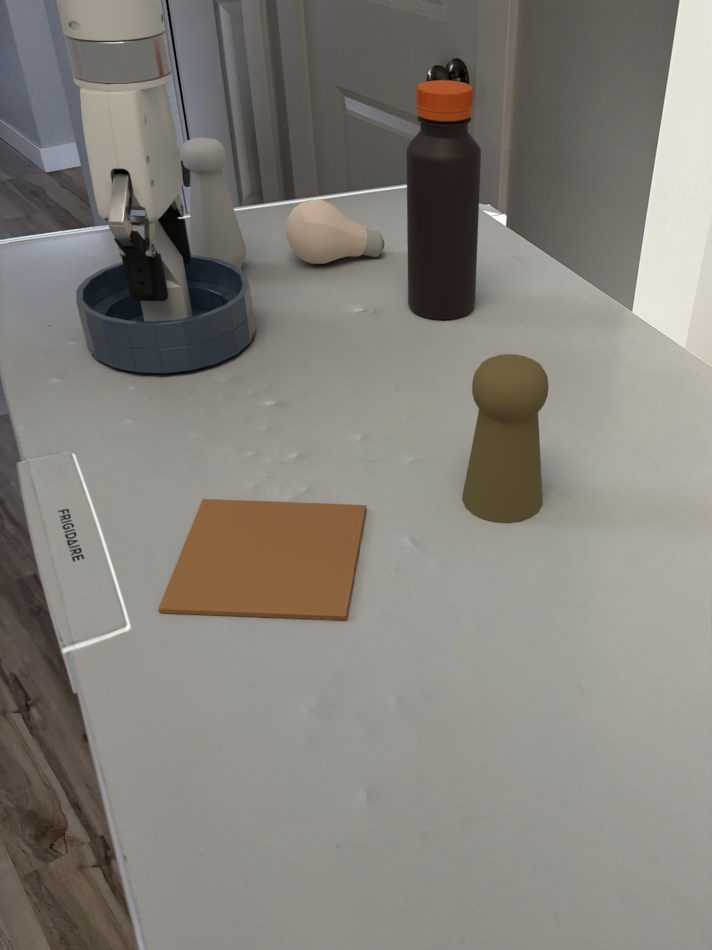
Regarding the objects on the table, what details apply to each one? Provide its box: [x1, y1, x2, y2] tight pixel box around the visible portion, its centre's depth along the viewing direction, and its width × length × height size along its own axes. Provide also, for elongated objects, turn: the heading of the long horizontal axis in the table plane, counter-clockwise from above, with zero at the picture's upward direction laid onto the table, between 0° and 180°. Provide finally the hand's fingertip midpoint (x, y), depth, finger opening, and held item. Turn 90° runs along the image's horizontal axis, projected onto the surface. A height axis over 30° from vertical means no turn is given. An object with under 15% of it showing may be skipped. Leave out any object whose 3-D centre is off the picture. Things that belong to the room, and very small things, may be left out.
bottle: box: [406, 79, 482, 321], centre depth 87 cm, size 7×7×20 cm
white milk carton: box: [140, 220, 193, 322], centre depth 84 cm, size 4×7×10 cm, turn 11°
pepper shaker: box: [461, 353, 549, 524], centre depth 66 cm, size 6×6×11 cm
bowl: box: [75, 255, 256, 374], centre depth 86 cm, size 15×15×5 cm
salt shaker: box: [181, 137, 247, 271], centre depth 95 cm, size 6×6×13 cm
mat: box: [158, 498, 367, 621], centre depth 63 cm, size 12×12×1 cm
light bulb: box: [285, 199, 385, 265], centre depth 101 cm, size 7×7×11 cm
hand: (162, 279), depth 84 cm, fingers closed on white milk carton, 7 cm apart
